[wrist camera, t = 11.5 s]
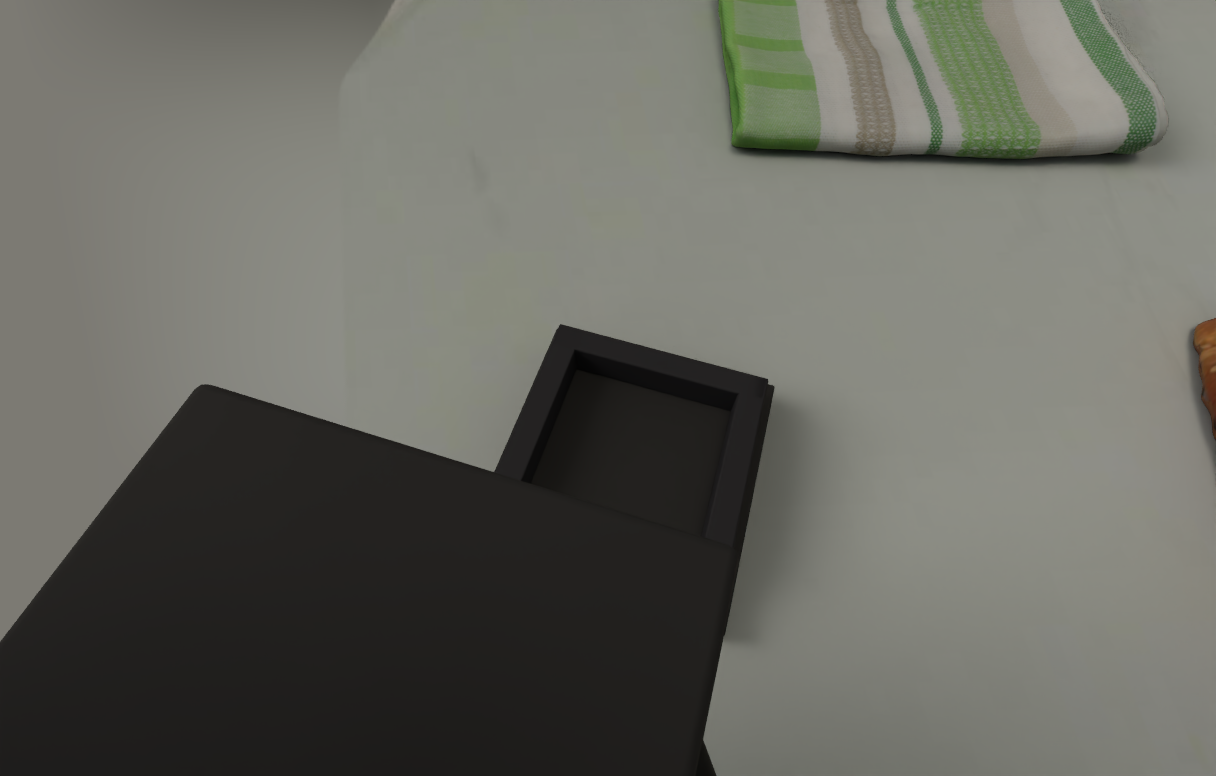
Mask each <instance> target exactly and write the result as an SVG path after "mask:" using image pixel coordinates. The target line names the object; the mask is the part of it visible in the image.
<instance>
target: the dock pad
mask: <svg viewBox="0 0 1216 776" xmlns="http://www.w3.org/2000/svg"><path fill="white" fill-rule="evenodd" d="M773 392H774V386H773V385H769V384H768V379H765V378H761V377H758V376H754V375H750V374H746V373H743V372H739V371H735V370H731V369H727V368H724V367H720V366H716V365H712V364H709V363H705V362H701V361H697V360H693V359H690V358H686V357H682V356H678V355H675V354H671V353H667V352H663V351H659V350H656V349H652V348H648V347H644V346H641V345H637V344H633V343H629V342H625V341H622V340H618V339H614V338H610V337H607V336H603V335H599V334H595V333H591V332H588V331H584V330H580V329H577V328H573V327H569V326H565V325H561V324H560V325H559V328H558V329H557V330H556V332H555V335H554V337H553V339H552V341H551V344H550V346H549V348H548V351H547V353H546V355H545V357H544V360H543V362H542V364H541V367H540V369H539V371H538V373H537V376H536V378H535V380H534V383H533V385H532V387H531V390H530V392H529V394H528V396H527V399H526V401H525V403H524V406H523V408H522V410H521V412H520V415H519V417H518V419H517V422H516V424H515V426H514V428H513V431H512V433H511V435H510V438H509V440H508V442H507V444H506V447H505V449H504V451H503V454H502V456H501V458H500V460H499V463H498V465H497V467H496V470H495V472H494V473H498V474H501V475H504V476H507V477H511V478H514V479H517V480H520V481H524V482H527V483H530V484H533V485H536V486H540V487H543V488H546V489H549V490H553V491H556V492H559V493H562V494H566V495H569V496H572V497H575V498H579V499H582V500H585V501H588V502H591V503H595V504H598V505H601V506H604V507H608V508H611V509H614V510H617V511H621V512H624V513H627V514H630V515H634V516H637V517H640V518H643V519H646V520H650V521H653V522H656V523H659V524H663V525H666V526H669V527H672V528H676V529H679V530H682V531H685V532H689V533H692V534H695V535H698V536H701V537H705V538H708V539H711V540H714V541H718V542H721V543H724V544H727V545H729V546H731V547H732V548H733V549H735V550H736V551H737V555H738V560H739V562H740V557H741V552H742V547H743V542H744V537H745V532H746V527H747V522H748V517H749V512H750V507H751V502H752V497H753V492H754V487H755V482H756V477H757V472H758V467H759V462H760V457H761V452H762V447H763V442H764V437H765V432H766V427H767V422H768V417H769V412H770V407H771V402H772V397H773ZM738 567H739V563H738ZM737 572H738V568H737ZM736 577H737V573H736ZM736 577H735V582H736ZM735 582H734V587H735ZM734 587H733V592H734ZM733 592H732V597H733ZM732 597H731V602H732ZM731 602H730V607H731ZM730 607H729V612H730ZM729 612H728V617H729ZM728 617H727V622H728ZM727 622H726V627H727ZM726 627H725V632H726ZM725 632H724V635H725Z"/></svg>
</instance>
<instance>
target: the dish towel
mask: <svg viewBox="0 0 1216 776" xmlns="http://www.w3.org/2000/svg"><path fill="white" fill-rule="evenodd" d="M718 12H719V17H720V23H721V33H722V47H723V56H724V62H725V69H726V75H727V79H728V84H729V91H730V110H731V117H732V125H733V134H732V145H733V146H735V147H748V148H762V149H790V150H809V151H833V152H845V153H852V154H861V155H872V156H890V155H903V154H937V155H947V156H958V157H976V158H1007V159H1029V158H1035V157H1051V156H1077V155H1095V154H1103V153H1116V154H1134V153H1138V152H1141V151H1143V150H1145V149H1147V148H1148V147H1150V146H1153V145H1156V144H1157V143H1159V142H1160V141H1161V139H1162V138H1163V136H1164V135H1165V133H1166V131H1167V128H1168V123H1169V117H1168V113H1167V110H1166V108H1165V102H1164V98H1163V96H1162V94H1161V93H1160V91H1159V89H1158V87H1157V85H1156V84H1155V82H1154V81H1153V80H1152V79H1151V77H1150V76H1149V75H1148V74H1147V73H1146V72H1145V71H1144V69H1143V68H1142V66H1141V64H1140V63H1139V61H1138V60H1137V59H1136V58H1135V56H1134V55H1133V54H1132V53H1131V52H1130V51H1129V50H1128V49H1127V47H1126V46H1125V45H1124V43H1123V42H1122V40H1121V38H1120V36H1119V35H1118V33H1116V32H1115V31H1114V30H1113V29H1112V28H1111V26H1110V25H1109V23H1108V22H1107V20H1106V18H1105V16H1104V14H1103V12H1102V10H1101V7H1100V5H1099V3H1098V1H1097V0H719V10H718Z"/></svg>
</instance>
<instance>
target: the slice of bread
mask: <svg viewBox="0 0 1216 776" xmlns="http://www.w3.org/2000/svg"><path fill="white" fill-rule="evenodd" d="M1193 345H1194V347H1195V349H1196V351H1197V352H1198V354H1199V373H1200V377H1201V380H1202V384H1203V387H1202V394H1201V398H1202V401H1203V403H1204V404H1205V406H1206V407H1207V409H1208V410H1209V412H1210V415H1211V419H1212V430H1213V435H1214V438H1215V439H1216V318H1214V319H1211V320H1208V321H1205V322H1202V323H1201V324H1199V325H1198V326H1197V327H1196V329H1195V333H1194V341H1193Z"/></svg>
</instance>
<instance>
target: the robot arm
mask: <svg viewBox="0 0 1216 776" xmlns="http://www.w3.org/2000/svg"><path fill="white" fill-rule="evenodd" d="M696 776H716V773H715V770H714V768H713V765H712V762H711V760H710V757H709V754H708V752H707V749H706V746H705V744H704V741H702V746H701V751H700V756H699V761H698V766H697V771H696Z"/></svg>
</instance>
